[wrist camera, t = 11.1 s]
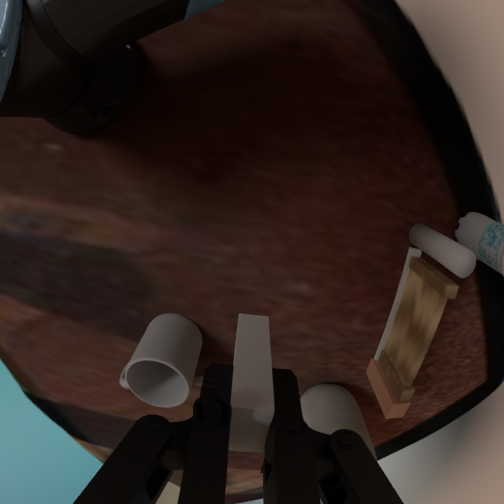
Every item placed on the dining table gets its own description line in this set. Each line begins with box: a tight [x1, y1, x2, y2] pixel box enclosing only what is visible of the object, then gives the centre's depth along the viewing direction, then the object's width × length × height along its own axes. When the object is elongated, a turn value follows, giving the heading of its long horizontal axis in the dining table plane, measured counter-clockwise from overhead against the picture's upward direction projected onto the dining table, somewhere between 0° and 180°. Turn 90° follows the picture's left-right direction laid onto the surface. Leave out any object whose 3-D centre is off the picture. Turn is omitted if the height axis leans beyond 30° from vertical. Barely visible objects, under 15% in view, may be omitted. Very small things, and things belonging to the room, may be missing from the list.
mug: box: [120, 313, 202, 407], centre depth 40 cm, size 12×8×11 cm
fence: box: [366, 223, 476, 419], centre depth 37 cm, size 26×3×12 cm, turn 173°
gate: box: [378, 256, 459, 402], centre depth 37 cm, size 18×2×10 cm, turn 174°
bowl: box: [156, 469, 184, 504], centre depth 51 cm, size 16×16×10 cm
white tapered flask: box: [300, 384, 377, 504], centre depth 35 cm, size 10×10×28 cm
